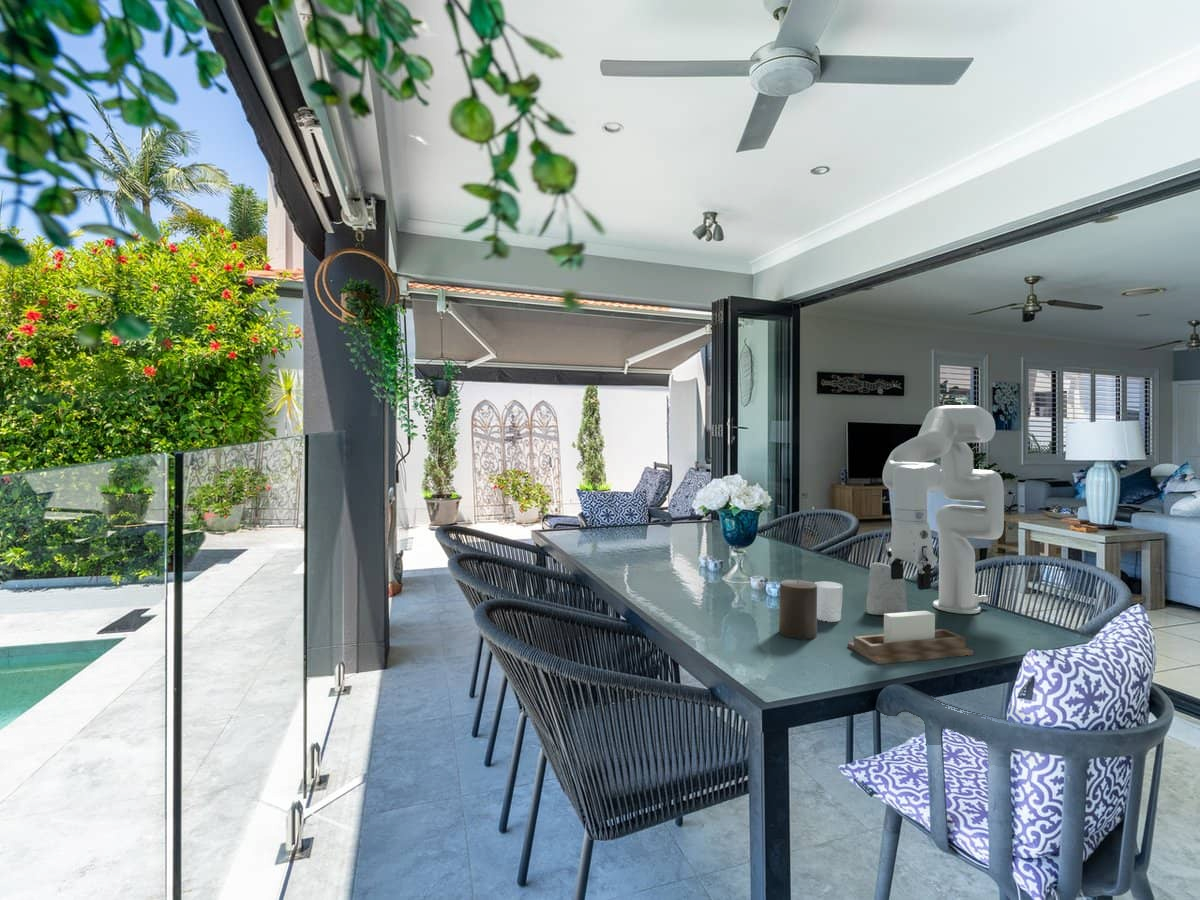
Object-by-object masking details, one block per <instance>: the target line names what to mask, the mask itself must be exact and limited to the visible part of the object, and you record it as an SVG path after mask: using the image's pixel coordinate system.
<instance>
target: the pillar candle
mask: <svg viewBox="0 0 1200 900" xmlns="http://www.w3.org/2000/svg"><path fill="white" fill-rule="evenodd" d="M778 619H779V624H778V625H779V626H778V631H779V634H780V635H782V636H784V637H786V638H790V639H794V640H801V639H805V640H810V639H815V638H817V637H818V636H817V635H818V633H817V632H818V630H817V629H818V619H817V584H815V582H812V581H808V580H803V579H802V580H801V579H784V580H782V581H780V582H779V618H778Z"/></svg>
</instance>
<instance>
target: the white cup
mask: <svg viewBox="0 0 1200 900" xmlns="http://www.w3.org/2000/svg"><path fill="white" fill-rule="evenodd" d="M814 583H815V584H817V621H821V620H822V621H821V622H825V621H827V623H836V622H840V621H841V618H842V605H843V587H844V586H843V584H842V583H839V582H836V581H834V582H833V581H828V580H827V581H826V580H825V581H815V582H814Z"/></svg>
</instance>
